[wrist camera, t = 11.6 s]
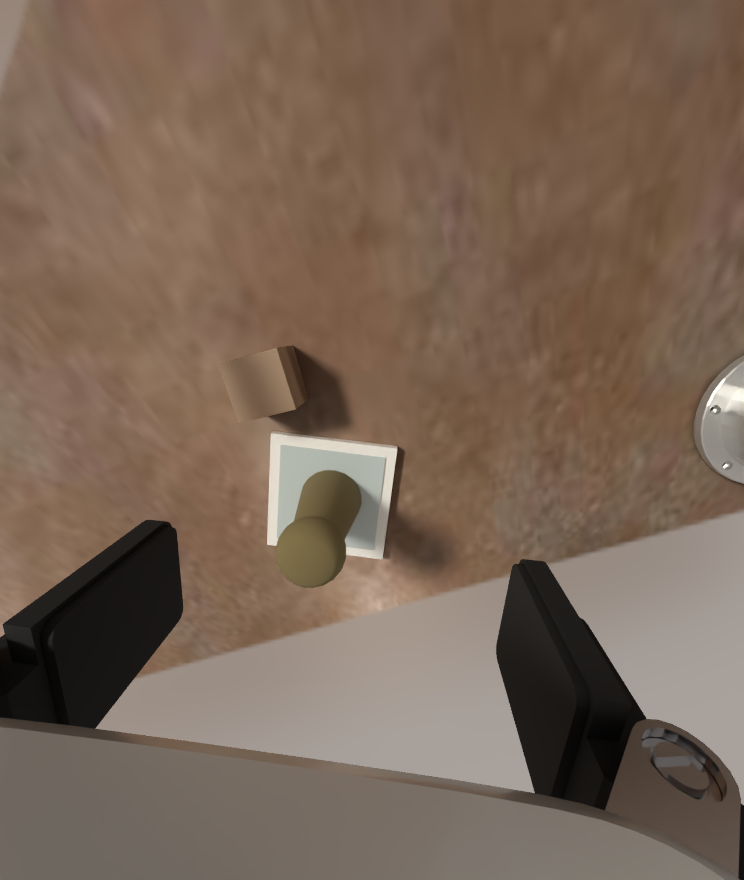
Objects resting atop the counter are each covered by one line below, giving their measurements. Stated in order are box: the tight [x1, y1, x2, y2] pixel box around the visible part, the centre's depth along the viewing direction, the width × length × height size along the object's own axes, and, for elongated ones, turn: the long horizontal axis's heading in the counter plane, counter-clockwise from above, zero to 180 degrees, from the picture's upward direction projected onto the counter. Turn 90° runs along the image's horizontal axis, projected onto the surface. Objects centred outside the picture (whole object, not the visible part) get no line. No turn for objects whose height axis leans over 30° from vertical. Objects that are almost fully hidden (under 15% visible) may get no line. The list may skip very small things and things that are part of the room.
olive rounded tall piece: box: [275, 470, 362, 588], centre depth 32 cm, size 6×6×11 cm
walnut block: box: [218, 346, 309, 423], centre depth 33 cm, size 5×5×5 cm
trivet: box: [267, 431, 397, 559], centre depth 37 cm, size 12×12×1 cm
